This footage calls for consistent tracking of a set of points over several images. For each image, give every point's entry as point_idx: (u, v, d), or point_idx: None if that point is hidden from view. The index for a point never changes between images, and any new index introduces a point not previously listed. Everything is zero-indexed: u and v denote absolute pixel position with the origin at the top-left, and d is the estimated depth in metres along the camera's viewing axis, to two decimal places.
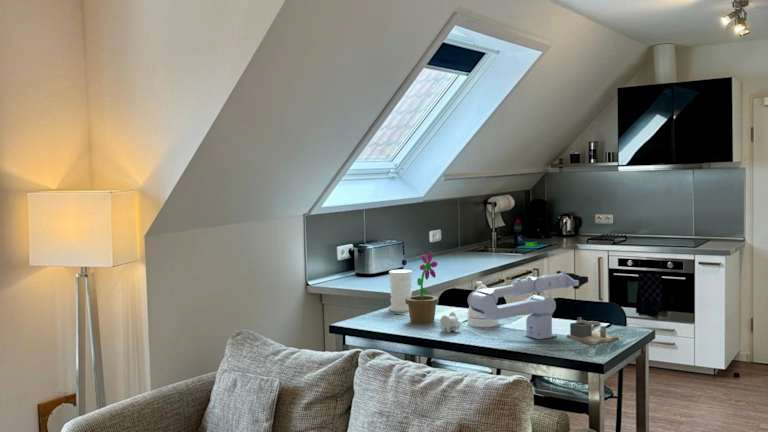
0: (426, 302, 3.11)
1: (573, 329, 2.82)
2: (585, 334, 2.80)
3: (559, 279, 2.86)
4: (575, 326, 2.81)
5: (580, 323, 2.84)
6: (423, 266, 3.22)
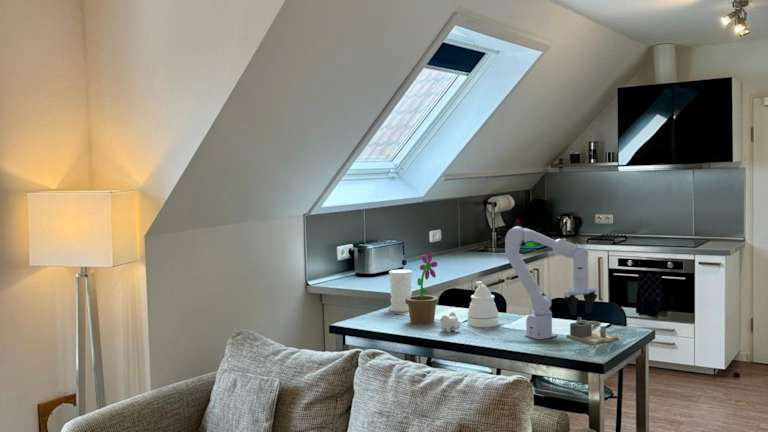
0: (426, 302, 3.11)
1: (573, 329, 2.82)
2: (585, 334, 2.80)
3: (577, 281, 2.79)
4: (575, 326, 2.81)
5: (580, 323, 2.84)
6: (423, 266, 3.22)
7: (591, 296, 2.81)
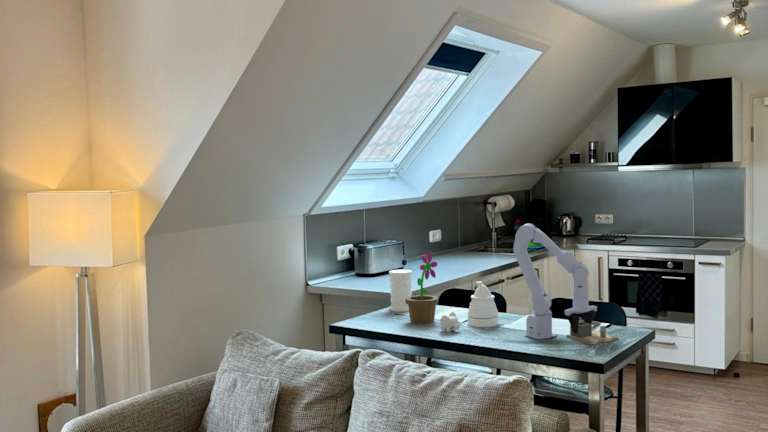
0: (426, 302, 3.11)
1: None
2: (585, 334, 2.80)
3: (578, 299, 2.79)
4: None
5: (580, 323, 2.84)
6: (423, 266, 3.22)
7: (590, 314, 2.82)
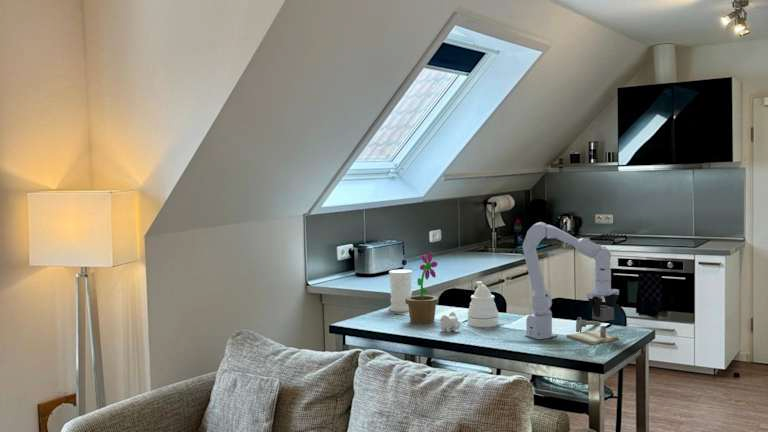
0: (426, 302, 3.11)
1: None
2: (608, 317, 2.76)
3: (600, 282, 2.75)
4: None
5: (602, 307, 2.80)
6: (423, 266, 3.22)
7: (612, 298, 2.78)
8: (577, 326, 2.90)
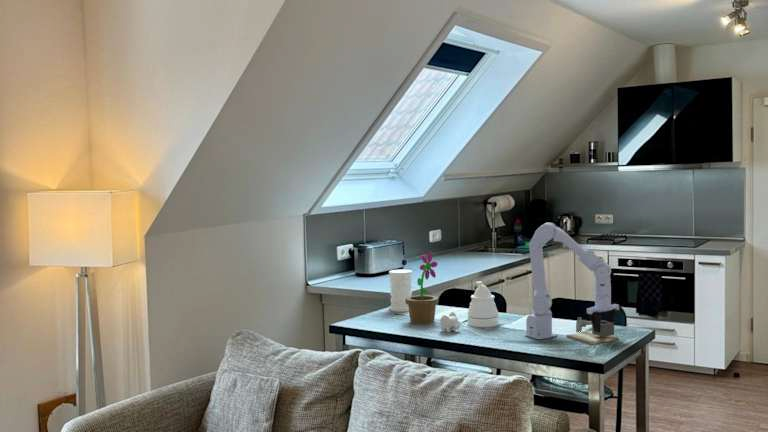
0: (426, 302, 3.11)
1: None
2: (608, 333, 2.76)
3: (600, 298, 2.76)
4: None
5: (602, 322, 2.81)
6: (423, 266, 3.22)
7: (612, 313, 2.78)
8: (577, 326, 2.90)
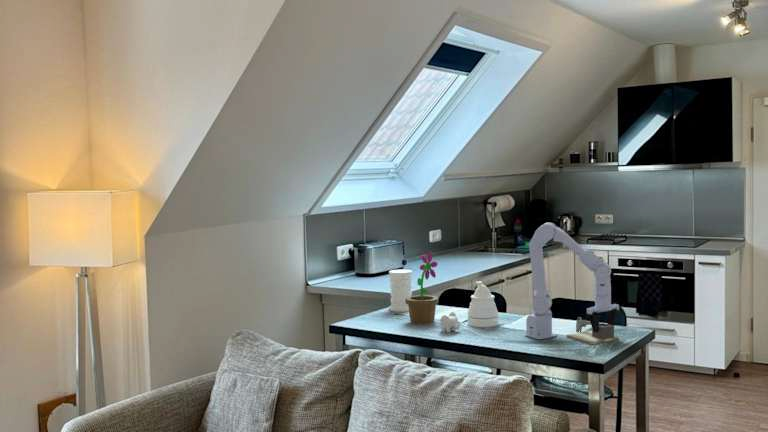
0: (426, 302, 3.11)
1: None
2: (608, 335, 2.76)
3: (600, 298, 2.76)
4: None
5: (602, 324, 2.81)
6: (423, 266, 3.22)
7: (613, 313, 2.79)
8: (577, 326, 2.90)
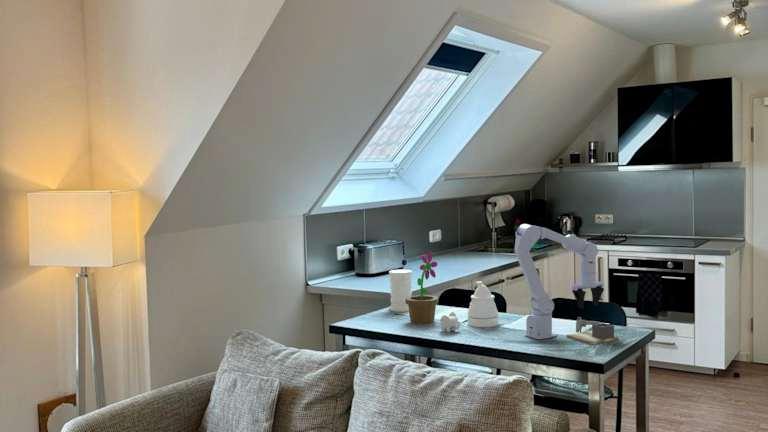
0: (426, 302, 3.11)
1: (595, 331, 2.78)
2: (608, 335, 2.76)
3: (585, 275, 2.86)
4: (597, 328, 2.77)
5: (602, 324, 2.81)
6: (423, 266, 3.22)
7: (598, 290, 2.89)
8: (577, 326, 2.90)
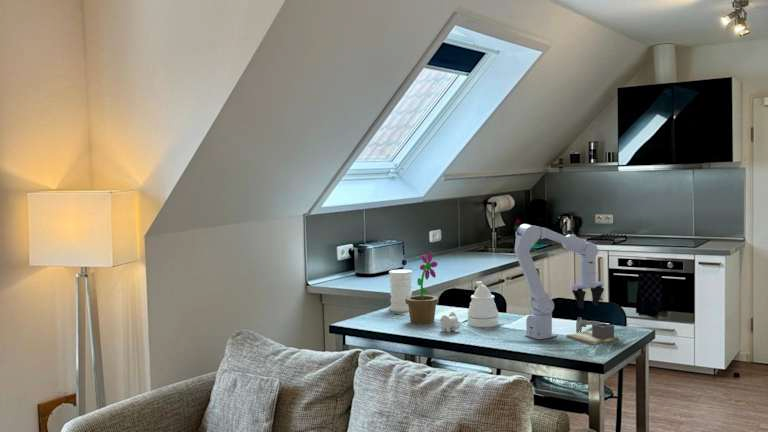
0: (426, 302, 3.11)
1: (595, 331, 2.78)
2: (608, 335, 2.76)
3: (585, 275, 2.86)
4: (597, 328, 2.77)
5: (602, 324, 2.81)
6: (423, 266, 3.22)
7: (598, 290, 2.89)
8: (577, 326, 2.90)
